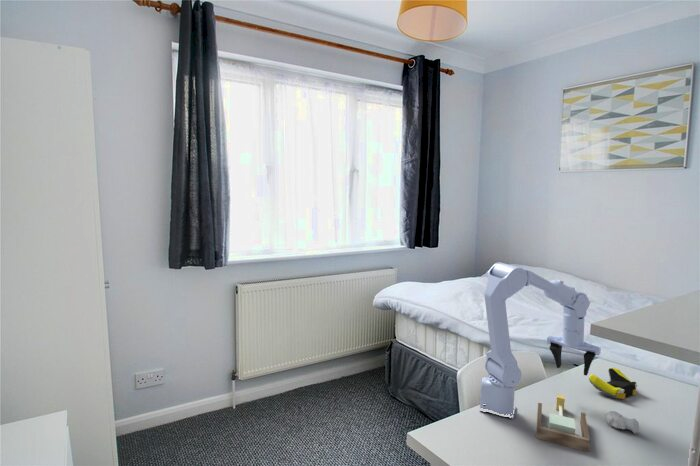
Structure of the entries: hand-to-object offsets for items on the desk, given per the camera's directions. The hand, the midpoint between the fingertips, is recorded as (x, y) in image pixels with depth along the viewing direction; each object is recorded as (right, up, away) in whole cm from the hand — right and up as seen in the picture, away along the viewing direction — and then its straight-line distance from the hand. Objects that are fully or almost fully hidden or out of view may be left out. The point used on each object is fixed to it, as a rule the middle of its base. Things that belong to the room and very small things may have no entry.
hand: (572, 370), depth 124 cm
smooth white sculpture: (+6, -12, -13) cm, 19 cm away
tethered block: (-9, -11, -11) cm, 18 cm away
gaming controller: (+18, -10, +7) cm, 22 cm away
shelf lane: (-11, -11, -15) cm, 22 cm away
